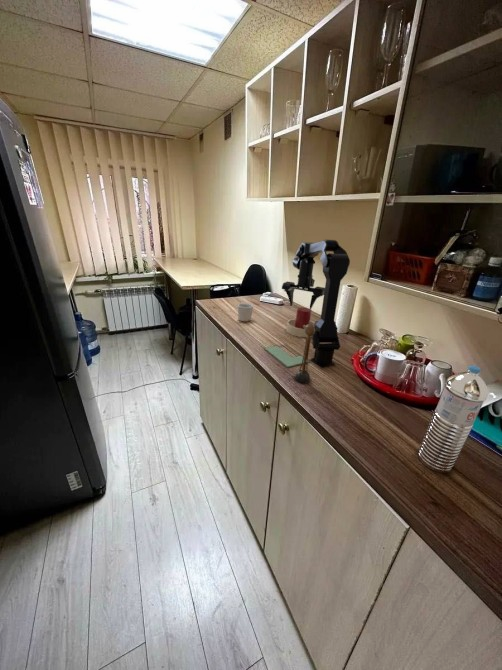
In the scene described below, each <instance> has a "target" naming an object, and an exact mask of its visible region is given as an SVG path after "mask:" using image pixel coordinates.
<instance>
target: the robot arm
mask: <svg viewBox="0 0 502 670" xmlns="http://www.w3.org/2000/svg"><path fill="white" fill-rule="evenodd" d="M329 252H331V253H329ZM320 254H321V255H320ZM319 255H320V258H319V259H320V262H321V265H322V273H323V276H324V278H325V286H324V287H322V286H315V282H316V280H315V279H314V278H313V276H314V275H313V270H314V265H315V264H316V261H315V258H316V257H318V256H319ZM350 264H351V260H350V257H349V254H348V253H347V250H345V249H344V248H343V247H342V246H341V245H340V244H339V242H338V240H336V239H323V240H320V241H316V242H306V241H305V242H304V241H302V242H301V244H300V245H299V246H298V249H297V251H296V253H295V257H294V258H293V260H292V266H293V267H294V268H295V269H297V270H298V274H297V284H295V282H293V281H288V280H287V281H284V282H283V283H282V284H281V290H283V291H284V292H285V293H286V296H287V297H288V301H289V305H290V306H293V303H294V293H295V290H299V291H303V292H309V293H312V295H311V297H310V303H309V309H311V310H312V308H313V306H314V304H315V303H316V301H317V299H319V298H320V297H323V298H322V299H323V300H322V306H321V312H320V318H319V320H316V321H314V322H315V324H314V328H315V333H314V335H313V336H312V337H311V340H312V341H311V342H312V349H314V355H313V357H312V358H311V359H310V361H312V362H313V363H315V364H316V365H318V366H319V367H320V368H325V367H329V366H333V365H335V363H336V362H334V361H333V358H334V354H335V351H339V349H340V347H341V343H340V339H339V335H338V326H337V324H336V322H335V317H336V312H337V305H338V299H339V294H340V287H341V283H342V280H343V279H344V277H345V276H346V275H347V273H348V271H349V267H350Z"/></svg>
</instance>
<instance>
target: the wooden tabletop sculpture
mask: <svg viewBox="0 0 502 670" xmlns="http://www.w3.org/2000/svg"><path fill="white" fill-rule="evenodd" d="M303 328H304V329H305V333H306V335H308V337H305V344H304V351H303V356H302V357H303V360H304V362H303V360H302V363H301V364H300V367H299V369H298V371H297V372H296V373H295V378H294V379H295V381H296V382H298V383H300V384H308V383H309V382H310V378H311V376H310V373H309V372H308V363H309V362H308V361H309V355H310V354H309V353H310V347H311V342H312V341H311V340H312V337H310V336H313V335H314V333H315V328H314V326H313V325H312V324H308V325H303ZM306 360H307V363H306Z"/></svg>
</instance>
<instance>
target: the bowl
mask: <svg viewBox="0 0 502 670" xmlns="http://www.w3.org/2000/svg"><path fill="white" fill-rule="evenodd" d="M295 322H296V318H291V319H289V320H287V322H286V330H285V331H286V332H287V333H288V334H290V335H292V336H294V337H299V338H308V335H306V333H305V329H300V328H296V327H295ZM315 322H316V321H313V320H310V324H312V325H313V326H314V324H315ZM310 338H312V336H310Z"/></svg>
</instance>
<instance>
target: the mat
mask: <svg viewBox="0 0 502 670" xmlns="http://www.w3.org/2000/svg"><path fill="white" fill-rule="evenodd" d="M264 350H265V351H266V352H267V353H269V354H270V355H271V356H273V357H274V358H275V359H276V360H278V361H279V362H280V363H281V364H283V366H285V367H286V368H292V367H295V366H301V363H302V360H303V356H302V355H296V356H292V355H290V354H289V353H288V352H286V351H285V350H284V349H282V348H281V347H280V346H278V345H274V346H269V347H265V348H264ZM303 362H304V360H303ZM306 363H307V360H306ZM308 363H310V361H309V360H308Z"/></svg>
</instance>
